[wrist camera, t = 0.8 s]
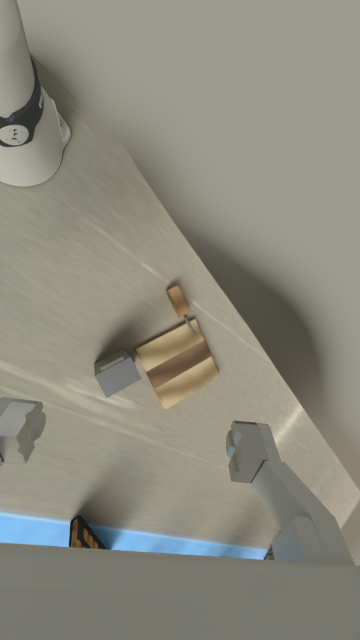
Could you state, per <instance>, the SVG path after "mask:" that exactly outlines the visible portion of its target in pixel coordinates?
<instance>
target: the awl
mask: <svg viewBox="0 0 360 640" xmlns="http://www.w3.org/2000/svg"><path fill="white" fill-rule="evenodd" d="M166 292H167V294H168V296H169V299H170V301H171V303H172V305H173V307H174V309H175V311H176V314H177V316H178V317H181V316H184V319H185V321H186V323H187V325H188V327H189V329H190V332H191V334H192V336H193V337H194V336H195V333H194V331H193V329H192V327H191V325H190V323H189V320H188V318H187V316H186V314H187V313H189V312H190V310H189V308H188V305H187V303H186V301H185V299H184V297H183V294H182V292H181V290H180V288H179V286H178V285H177V286H175V287H173V288H171V289H169V290H167V291H166Z"/></svg>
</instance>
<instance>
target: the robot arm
mask: <svg viewBox="0 0 360 640" xmlns="http://www.w3.org/2000/svg"><path fill="white" fill-rule="evenodd" d="M60 125H61V126H60ZM70 138H71V132H70V129H69V127H68V125H67V124H66V122H65V121H64V120H63V118H62V117H61V115H60V114H59V112H58V111H57V109H56V105H55V103H54V100H53V99H50V97H49V95H48V94H47V92H46V91H45V90H44V88H43V87H42V85H41V81H40V77H39V74H38V72H37V69H36V66H35V64H34V61H33V59H32V58H31V56H30V54H29V49H28V45H27V41H26V37H25V32H24V29H23V24H22V20H21V16H20V11H19V8H18V4H17V1H16V0H0V181H1V182H3V183H6V184H10V185H14V186H33V185H37V184H40V183H43V182H45V181H47V180H48V179H49V178H51V177H52V176H53V175H54V174H55V173H56V171H57V170H58V168H59V166H60V163H61V160H62V153H63V149H64V147H65V146H66V145H67V143H68V142H69V140H70ZM42 408H43V404H42V402H40V401H31V400H22V399H15V398H5V397H2V398H1V399H0V466H1V465H3V462H4V463H21V464H26V463H27V461H28V459H29V457H30V455H31V453H32V451H33V449H34V441H35V440H36V439H38V438H39V437H40V436H41V434H42V432H43V430H44V426H45V423H46V416H45V413H43V412H42V411H41V410H42ZM231 429H232V430H230V431H229V432H228V434H227V438H226V450H227V455H228V456H229V457H230V459H231V460H230V462H229V471H230V477H231V481H234V482H242V483H251V486H252V487H253V489H254V491H255V492H256V494H257V495H258V497H259V498H260V500H261V501H262V503H263V505H264V506H265V508H266V509H267V511H268V512H269V514H270V515H271V517H272V519H273V520H274V522H275V523H276V525H277V526H278V528H279V529H280V531H281V533H280V534H279V535H278V536H277V537H276V538H275V539H274V540H273V542H272V544H271V546H272V551H273V555H274V560H275V561H274V560H258V559H243V558H227V557H212V556H197V555H181V554H166V553H150V552H135V551H120V550H104V549H89V548H74V547H58V546H43V545H27V544H12V543H0V640H360V566H355V564H354V562H353V559H352V557H351V554H350V552H349V550H348V547H347V545H346V543H345V540H344V538H343V536H342V533H341V531H340V528H339V526H338V524H337V521H336V519H335V517H334V516H333V515H332V514H331V513H330V512H329V511H328V510H327V509H326V507H325V506H324V505H323V504H322V503H321V502H320V501H319V500H318V499H317V497H316V496H315V495H314V494H313V493H312V492H311V491H310V490H309V489H308V488H307V486H306V485H305V484H304V483H303V482H302V481H301V480H300V479H299V478H298V476H297V475H296V474H295V473H294V472H293V471H292V470H291V469H290V468H289V467H288V465H287V464H286V463H285V462H281V459H280V456H279V453H278V450H277V447H276V444H275V441H274V438H273V435H272V432H271V429H270V426H269V425H268V424H262V423H255V422H243V421H233V422H232V424H231Z"/></svg>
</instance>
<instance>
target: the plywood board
mask: <svg viewBox="0 0 360 640" xmlns="http://www.w3.org/2000/svg"><path fill="white" fill-rule="evenodd" d="M189 323H190V325H191V327H192V329H193V331H194V333H195V336H194V337H193V336H192V334H191V332H190V329H189V327H188V325H187V323H184V324H182V325H180V326H178V327H176V328H175V329H173V330H171V331H169V332H167V333H165V334H163V335H161V336H159V337H157V338H155V339H153V340H151V341H149V342H147V343H145V344H143V345H141V346H139V347H137V348H135V351H136V353H137V355H138V357H139V359H140V361H141V363H142V365H143V367H144V369H145V371H146V373H147V375H148V377H149V379H150V382H151V384H152V386H153V388H154V390H155V392H156V394H157V396H158V398H159V400H160V402H161V404H162V406H163V408H164V410H166V409H167V408H169V407H171V406H172V405H174V404H176V403H177V402H179V401H180V400H182V399H184V398H185V397H187V396H189V395H190V394H192V393H193V392H195V391H197V390H198V389H200V388H202V387H203V386H205V385H207V384H208V383H210V382H211V381H213V380H215V379H216V378H218V377H220V375H219V373H218V370H217V368H216V366H215V363H214V361H213V359H212V356H211V354H210V352H209V349H208V347H207V345H206V342H205V340H204V338H203V335H202V333H201V331H200V328H199V326H198V324H197V321H196V319H192V320H190V321H189Z"/></svg>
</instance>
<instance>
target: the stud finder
mask: <svg viewBox="0 0 360 640" xmlns="http://www.w3.org/2000/svg"><path fill="white" fill-rule="evenodd" d="M94 368H95V377H96V379H97V380H98V382H99V384H100V386H101V388H102V390H103V392H104V394H105V396H106V398H107V397H109V396H111V395H113V394H115V393H116V392H118V391H120V390H122V389H124V388H126V387H127V386H129V385H131V384H133V383H135V382H136V381H138V380H140V379H141V377H140V375H139V373H138V371H137V369H136V367H135V365H134V363H133V360H132V358H131V357H130V356H129V355H128V353H127V352H126V351H125V350H124V349H122V350H120V351H118V352H116V353H114V354H112V355H110V356H108V357H106V358H104V359H102V360H100V361H98V362H96V363H94Z"/></svg>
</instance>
